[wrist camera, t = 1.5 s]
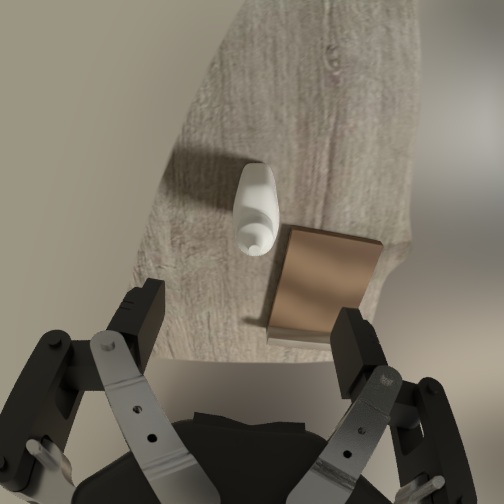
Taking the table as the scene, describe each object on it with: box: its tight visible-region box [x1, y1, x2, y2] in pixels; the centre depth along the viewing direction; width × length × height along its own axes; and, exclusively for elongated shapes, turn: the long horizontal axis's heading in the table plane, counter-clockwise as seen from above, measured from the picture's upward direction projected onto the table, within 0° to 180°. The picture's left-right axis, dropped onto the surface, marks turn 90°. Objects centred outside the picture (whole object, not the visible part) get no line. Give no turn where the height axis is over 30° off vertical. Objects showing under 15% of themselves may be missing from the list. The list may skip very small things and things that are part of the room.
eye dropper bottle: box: [233, 163, 279, 256], centre depth 23 cm, size 4×6×12 cm
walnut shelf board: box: [266, 226, 383, 351], centre depth 33 cm, size 14×10×3 cm
